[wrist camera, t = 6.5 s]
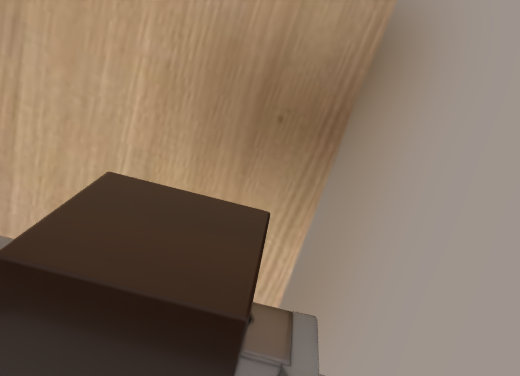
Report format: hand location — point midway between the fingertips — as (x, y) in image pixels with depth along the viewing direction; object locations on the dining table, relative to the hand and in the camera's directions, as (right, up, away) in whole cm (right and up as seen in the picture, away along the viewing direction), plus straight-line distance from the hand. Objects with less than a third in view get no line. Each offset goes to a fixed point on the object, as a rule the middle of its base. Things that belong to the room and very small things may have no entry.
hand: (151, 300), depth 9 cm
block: (0, +1, +2) cm, 2 cm away
